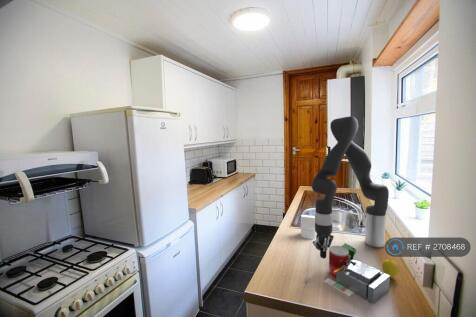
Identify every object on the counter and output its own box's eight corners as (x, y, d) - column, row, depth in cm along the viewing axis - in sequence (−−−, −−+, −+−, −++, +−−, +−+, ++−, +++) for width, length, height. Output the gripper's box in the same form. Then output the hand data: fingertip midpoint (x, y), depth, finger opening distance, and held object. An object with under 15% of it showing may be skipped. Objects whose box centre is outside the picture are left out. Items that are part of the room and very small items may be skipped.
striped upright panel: (328, 278, 98) (328, 277, 98) (353, 293, 89) (353, 292, 89) (324, 281, 96) (324, 280, 96) (349, 296, 87) (349, 295, 87)
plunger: (350, 273, 100) (350, 259, 99) (370, 284, 93) (371, 268, 92) (331, 286, 93) (332, 270, 92) (352, 298, 86) (352, 281, 85)
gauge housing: (352, 272, 102) (353, 256, 101) (389, 290, 90) (389, 272, 89) (336, 283, 95) (336, 265, 94) (373, 304, 83) (373, 284, 82)
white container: (317, 233, 140) (318, 214, 139) (315, 240, 132) (315, 220, 131) (302, 231, 144) (302, 212, 143) (299, 237, 136) (299, 217, 135)
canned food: (341, 281, 95) (341, 256, 94) (325, 272, 102) (325, 248, 101) (352, 275, 99) (352, 251, 98) (335, 266, 106) (336, 243, 105)
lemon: (397, 282, 94) (398, 264, 93) (381, 278, 97) (382, 260, 96) (397, 275, 98) (398, 257, 97) (381, 271, 101) (382, 254, 100)
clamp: (344, 272, 108) (346, 261, 104) (332, 265, 113) (333, 253, 108) (356, 255, 115) (358, 244, 110) (344, 248, 119) (346, 237, 114)
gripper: (325, 216, 111) (324, 249, 113) (307, 222, 104) (307, 258, 106) (339, 220, 105) (338, 256, 107) (321, 228, 98) (321, 266, 100)
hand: (323, 257), depth 107 cm, fingers closed
